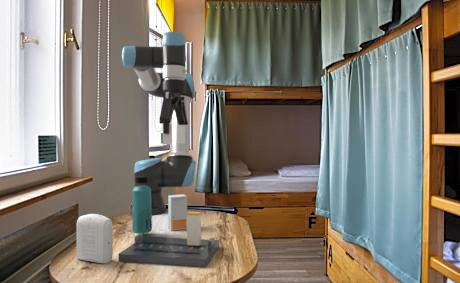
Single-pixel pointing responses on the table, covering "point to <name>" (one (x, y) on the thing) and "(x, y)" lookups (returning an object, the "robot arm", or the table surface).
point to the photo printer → (94, 238)
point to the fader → (194, 228)
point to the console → (169, 251)
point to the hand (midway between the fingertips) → (174, 144)
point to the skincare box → (177, 212)
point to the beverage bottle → (141, 207)
